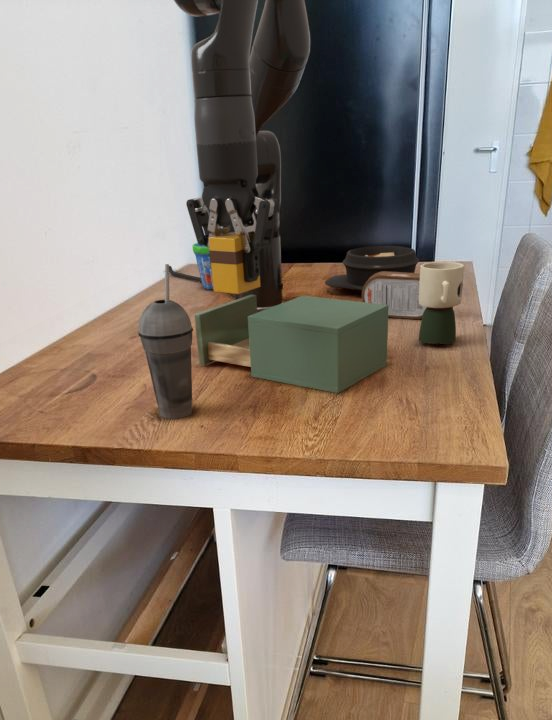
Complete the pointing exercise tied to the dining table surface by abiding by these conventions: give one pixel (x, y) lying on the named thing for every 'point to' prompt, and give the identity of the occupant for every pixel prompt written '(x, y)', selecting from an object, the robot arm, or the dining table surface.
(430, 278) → the character mug
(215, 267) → the snack box
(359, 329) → the cabinet
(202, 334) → the drawer
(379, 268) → the casserole
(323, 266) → the dining table surface
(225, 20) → the robot arm
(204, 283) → the snack cup
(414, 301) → the tin
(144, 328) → the beverage cup
